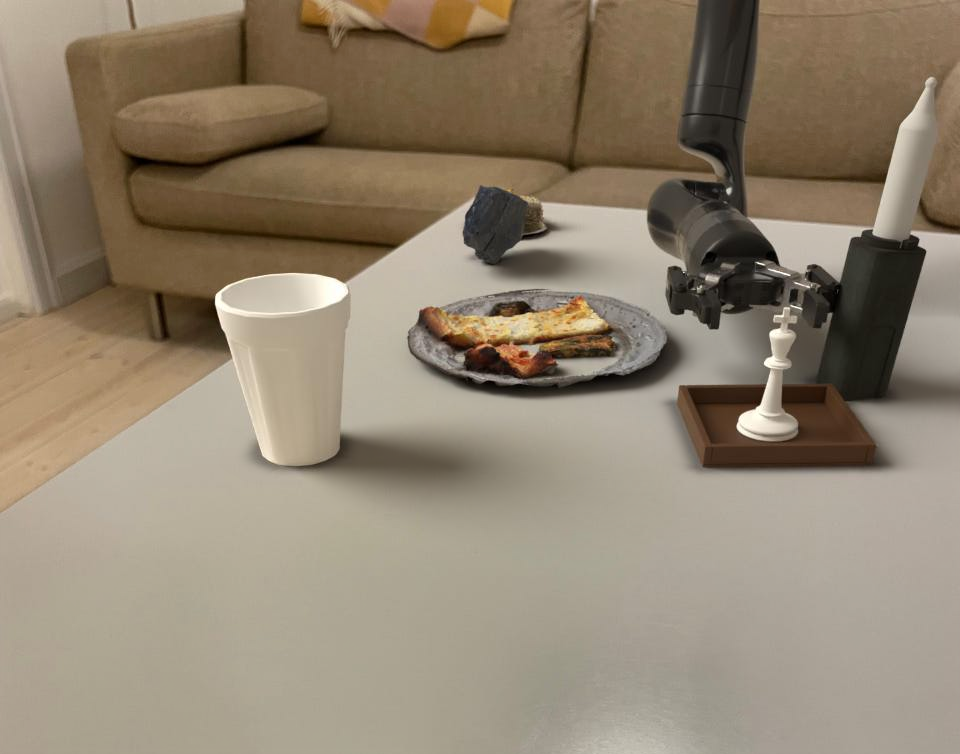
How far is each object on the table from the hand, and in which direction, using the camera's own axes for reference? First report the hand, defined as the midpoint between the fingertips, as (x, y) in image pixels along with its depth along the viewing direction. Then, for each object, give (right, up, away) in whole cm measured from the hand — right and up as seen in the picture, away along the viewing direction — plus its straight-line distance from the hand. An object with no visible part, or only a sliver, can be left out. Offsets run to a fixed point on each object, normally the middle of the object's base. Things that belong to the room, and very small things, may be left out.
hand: (768, 317), depth 86 cm
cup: (-38, -12, -1) cm, 40 cm away
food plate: (-18, +1, +17) cm, 25 cm away
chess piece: (0, -9, 0) cm, 9 cm away
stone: (-22, +19, +41) cm, 50 cm away
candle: (+9, -4, +8) cm, 13 cm away
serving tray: (0, -10, 0) cm, 10 cm away
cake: (-20, +28, +53) cm, 63 cm away
